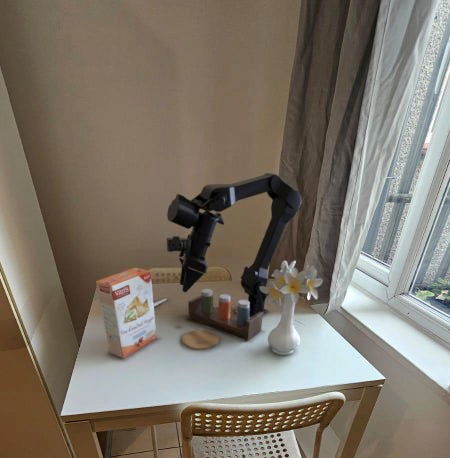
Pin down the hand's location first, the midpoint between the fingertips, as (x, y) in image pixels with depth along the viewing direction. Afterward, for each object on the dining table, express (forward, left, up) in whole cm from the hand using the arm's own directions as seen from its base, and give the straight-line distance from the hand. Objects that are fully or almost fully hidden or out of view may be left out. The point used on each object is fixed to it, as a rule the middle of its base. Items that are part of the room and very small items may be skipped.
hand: (182, 288), depth 99 cm
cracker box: (+17, -5, -14) cm, 22 cm away
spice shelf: (-10, +8, -13) cm, 19 cm away
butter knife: (0, -19, -14) cm, 24 cm away
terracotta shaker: (-10, +8, -10) cm, 17 cm away
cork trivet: (+3, +8, -13) cm, 16 cm away
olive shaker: (-10, +1, -10) cm, 15 cm away
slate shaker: (-10, +15, -10) cm, 21 cm away
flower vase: (-7, +31, -14) cm, 35 cm away
